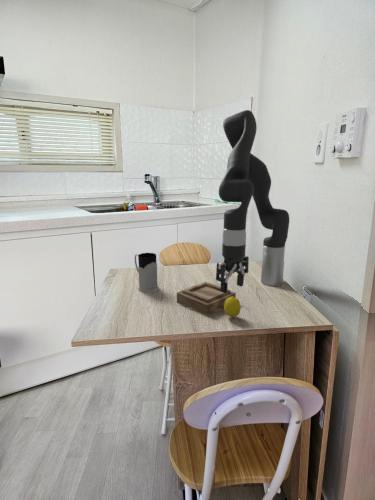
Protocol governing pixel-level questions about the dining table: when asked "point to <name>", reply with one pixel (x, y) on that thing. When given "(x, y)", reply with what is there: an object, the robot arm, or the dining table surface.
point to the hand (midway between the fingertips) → (232, 289)
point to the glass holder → (147, 272)
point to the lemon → (232, 306)
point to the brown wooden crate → (204, 298)
